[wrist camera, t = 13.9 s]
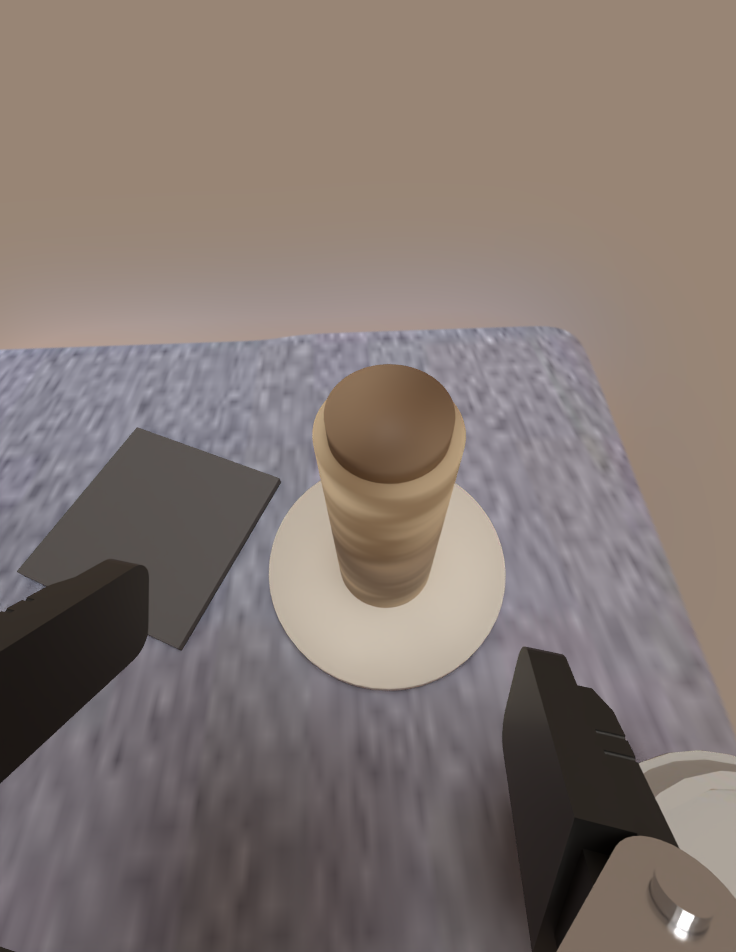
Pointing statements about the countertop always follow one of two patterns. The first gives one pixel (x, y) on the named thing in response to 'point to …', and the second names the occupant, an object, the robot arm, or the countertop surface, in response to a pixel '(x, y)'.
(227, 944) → the countertop surface
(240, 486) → the mat
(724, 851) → the disposable coffee cup
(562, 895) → the robot arm
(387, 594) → the pepper mill
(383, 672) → the plate
